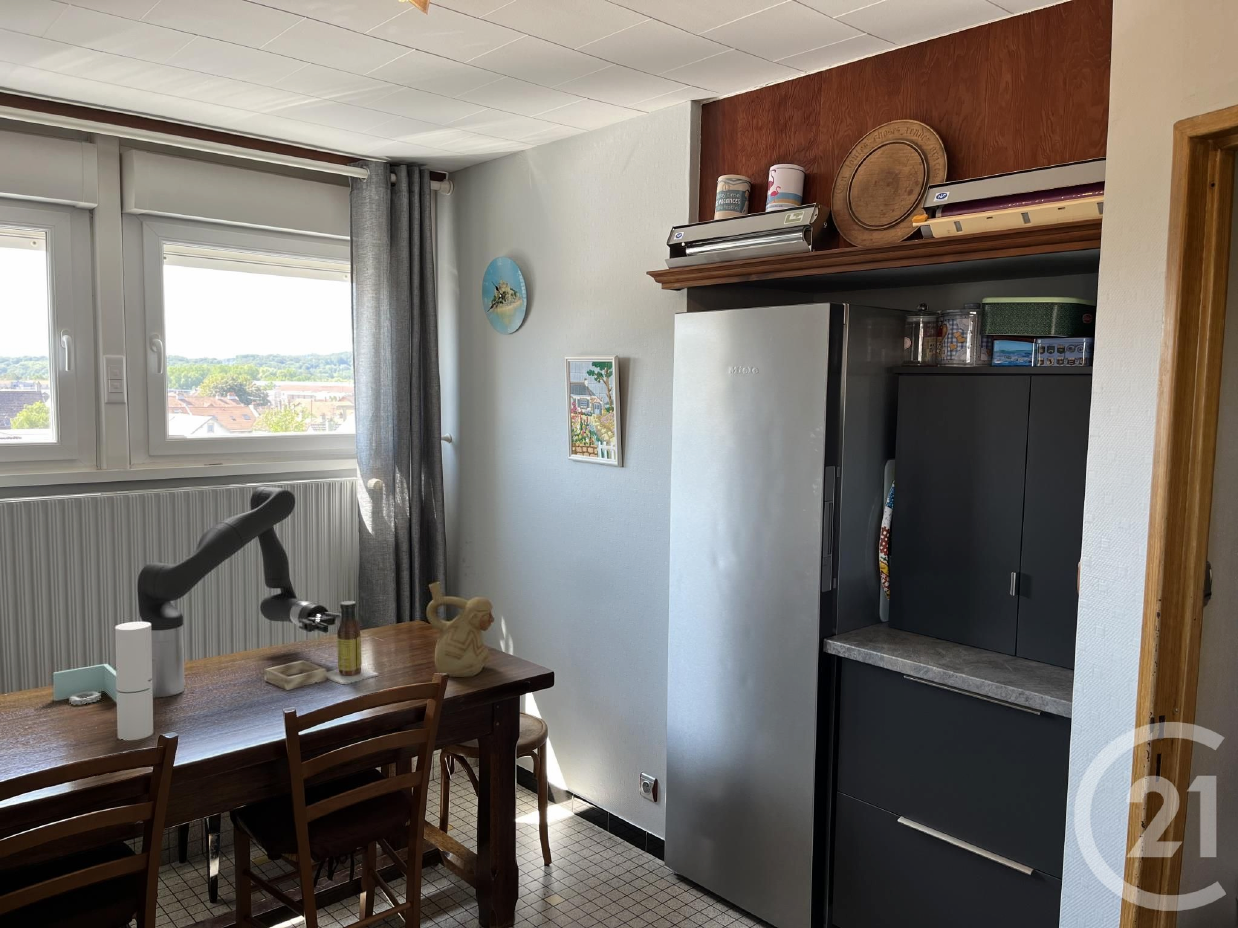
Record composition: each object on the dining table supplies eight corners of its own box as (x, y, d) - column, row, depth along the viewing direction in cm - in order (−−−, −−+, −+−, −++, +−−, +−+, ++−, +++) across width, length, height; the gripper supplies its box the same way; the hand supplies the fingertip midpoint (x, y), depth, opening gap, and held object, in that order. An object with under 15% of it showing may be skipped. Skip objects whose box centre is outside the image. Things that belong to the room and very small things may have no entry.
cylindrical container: (158, 728, 213) (156, 621, 211) (144, 740, 206) (141, 630, 204) (127, 728, 213) (124, 621, 210) (111, 740, 205) (108, 629, 203)
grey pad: (343, 684, 246) (343, 682, 246) (320, 675, 253) (320, 673, 253) (378, 675, 255) (378, 673, 254) (354, 666, 262) (354, 664, 262)
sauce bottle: (352, 668, 259) (353, 598, 257) (366, 672, 255) (366, 601, 253) (332, 673, 254) (332, 601, 252) (345, 678, 250) (345, 605, 248)
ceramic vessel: (484, 682, 251) (485, 591, 249) (415, 677, 254) (416, 587, 252) (502, 664, 267) (503, 579, 265) (437, 659, 270) (437, 575, 268)
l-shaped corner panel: (54, 702, 230) (53, 672, 229) (107, 692, 238) (107, 663, 237) (65, 715, 221) (64, 684, 220) (121, 704, 229) (120, 675, 229)
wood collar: (287, 689, 241) (287, 678, 241) (264, 680, 248) (264, 669, 248) (326, 679, 250) (326, 668, 250) (303, 670, 257) (303, 660, 257)
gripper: (286, 606, 260) (318, 617, 249) (331, 598, 271) (363, 608, 260) (286, 632, 260) (318, 644, 250) (331, 623, 271) (363, 634, 261)
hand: (341, 626), depth 255 cm, fingers open, 8 cm apart
